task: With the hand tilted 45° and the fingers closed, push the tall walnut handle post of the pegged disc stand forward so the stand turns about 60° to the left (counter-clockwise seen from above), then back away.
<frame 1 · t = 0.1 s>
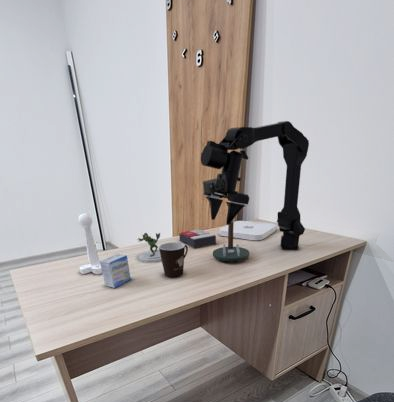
hand: (220, 222, 102), 15 cm above the table, tool pointing down, fingers open, 9 cm apart
medicine box: (118, 283, 99), on the table
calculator: (197, 242, 136), on the table
turntable base: (230, 258, 116), on the table
pegged disc stand: (231, 239, 112), point 8 cm above the table, hinge at 0.0°
coffee mug: (178, 274, 105), on the table
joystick: (97, 271, 109), on the table
monster figurine: (153, 257, 121), on the table
computer: (247, 233, 146), on the table
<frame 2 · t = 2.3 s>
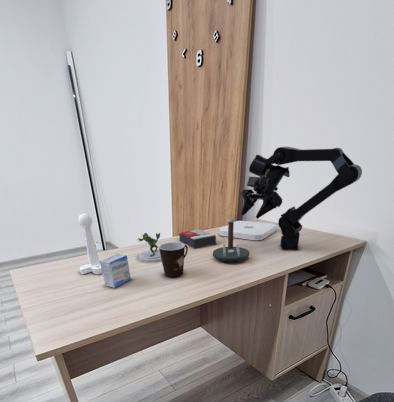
hand: (249, 216, 117), 14 cm above the table, tool tilted 40°, fingers open, 9 cm apart
nothing on the table moved.
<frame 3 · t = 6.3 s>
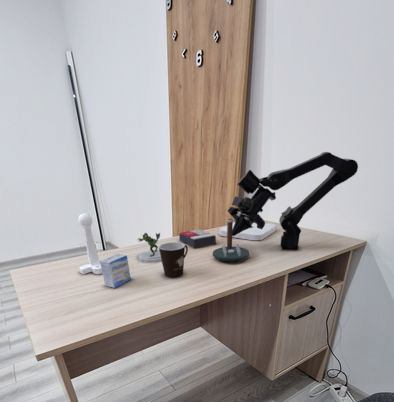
hand: (232, 235, 117), 7 cm above the table, tool tilted 45°, fingers closed, pressing on pegged disc stand
pegged disc stand: (231, 239, 112), point 8 cm above the table, hinge at 3.9°, touching gripper
everything else where it was.
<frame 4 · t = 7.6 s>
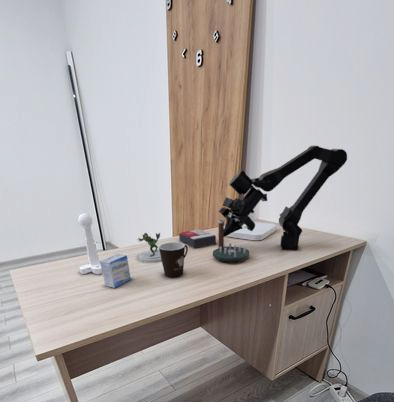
hand: (222, 236, 117), 7 cm above the table, tool tilted 45°, fingers closed, pressing on pegged disc stand
pegged disc stand: (231, 239, 112), point 8 cm above the table, hinge at 43.3°, touching gripper
everything else where it was.
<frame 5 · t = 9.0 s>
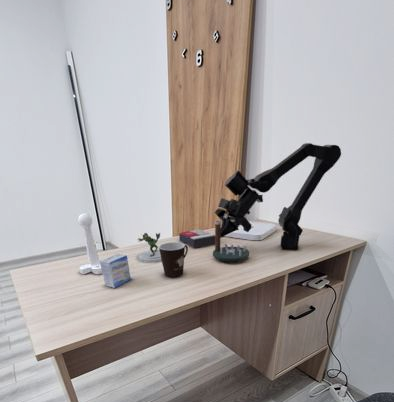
hand: (218, 237, 115), 7 cm above the table, tool tilted 45°, fingers closed
pegged disc stand: (231, 239, 112), point 8 cm above the table, hinge at 66.8°, touching gripper
everything else where it was.
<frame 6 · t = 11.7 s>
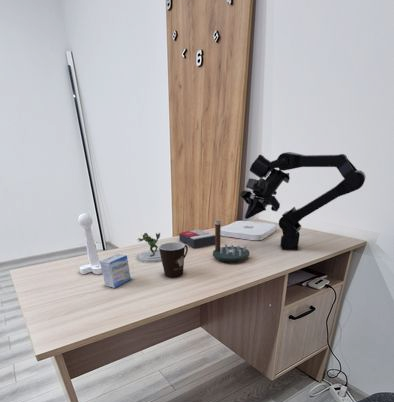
hand: (245, 218, 116), 13 cm above the table, tool tilted 45°, fingers closed
pegged disc stand: (231, 239, 112), point 8 cm above the table, hinge at 66.8°
everything else where it was.
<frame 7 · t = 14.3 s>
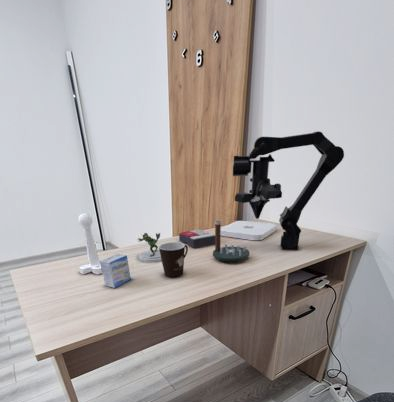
hand: (257, 218, 120), 12 cm above the table, tool pointing down, fingers closed
nothing on the table moved.
at the end: pegged disc stand at +67° (first picture: +0°) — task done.
